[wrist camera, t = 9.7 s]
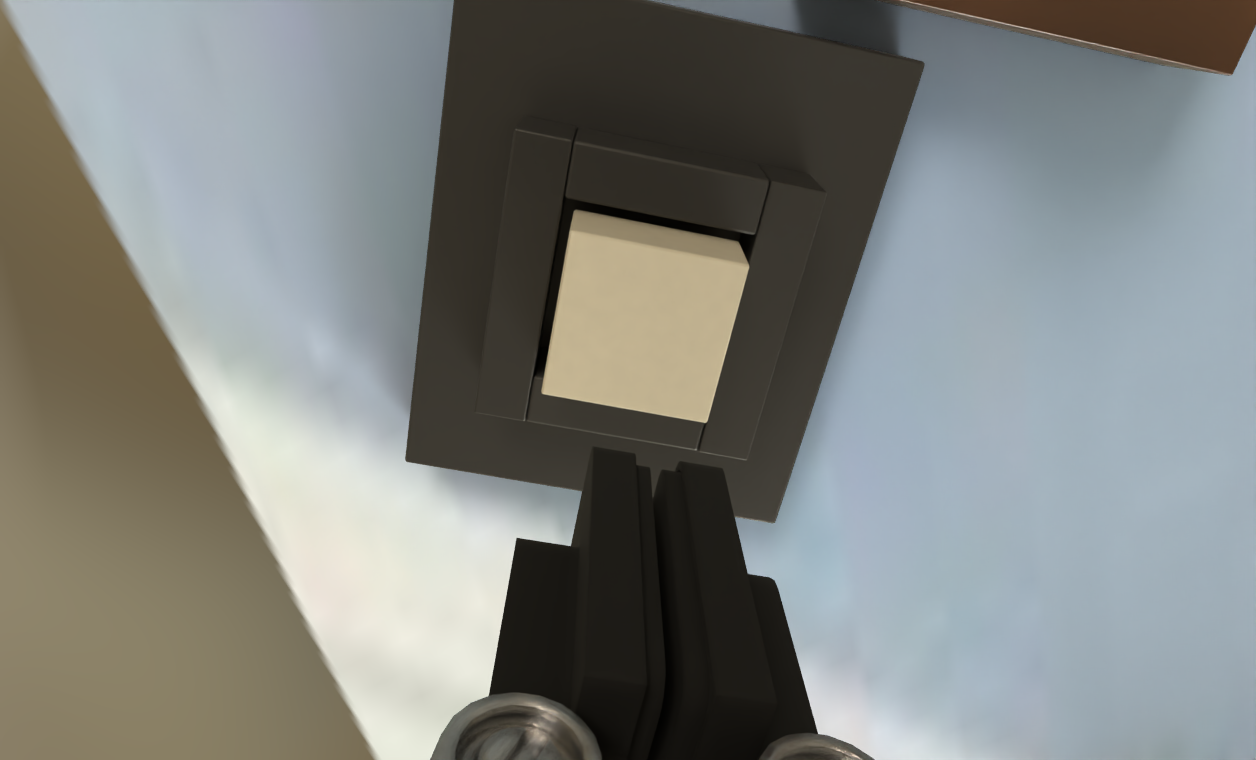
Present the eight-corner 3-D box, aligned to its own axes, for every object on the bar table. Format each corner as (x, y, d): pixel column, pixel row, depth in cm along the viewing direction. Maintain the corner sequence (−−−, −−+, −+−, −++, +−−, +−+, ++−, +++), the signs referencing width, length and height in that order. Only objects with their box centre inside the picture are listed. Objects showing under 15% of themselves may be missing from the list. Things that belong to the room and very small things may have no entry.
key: (574, 208, 18) (569, 230, 17) (739, 240, 18) (750, 265, 17) (547, 361, 20) (540, 394, 18) (700, 389, 20) (707, 424, 18)
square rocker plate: (471, -40, 19) (440, -44, 16) (903, 56, 20) (956, 70, 17) (418, 431, 24) (387, 500, 21) (765, 490, 25) (787, 565, 22)
